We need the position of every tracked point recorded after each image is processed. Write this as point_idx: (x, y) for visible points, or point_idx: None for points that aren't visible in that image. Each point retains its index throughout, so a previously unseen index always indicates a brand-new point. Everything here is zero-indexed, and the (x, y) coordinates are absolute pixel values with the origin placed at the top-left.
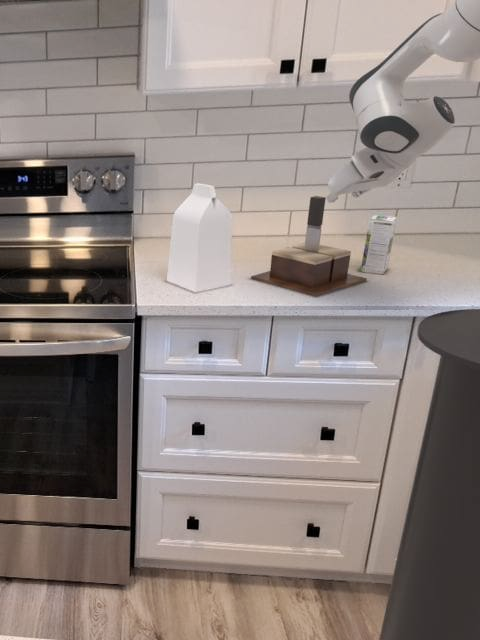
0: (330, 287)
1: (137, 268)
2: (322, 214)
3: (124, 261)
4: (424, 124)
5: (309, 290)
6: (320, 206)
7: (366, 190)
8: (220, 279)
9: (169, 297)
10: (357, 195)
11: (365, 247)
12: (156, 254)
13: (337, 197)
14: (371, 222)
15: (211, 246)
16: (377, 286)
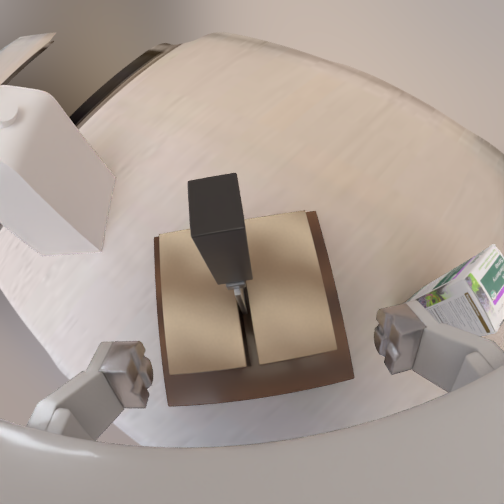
0: (228, 392)
1: (85, 124)
2: (243, 265)
3: (102, 96)
4: None
5: (172, 382)
6: (213, 253)
7: (438, 381)
8: (73, 247)
9: (13, 255)
10: (385, 355)
11: (421, 301)
12: (158, 81)
13: (136, 404)
14: (462, 287)
15: (15, 214)
16: (342, 417)
